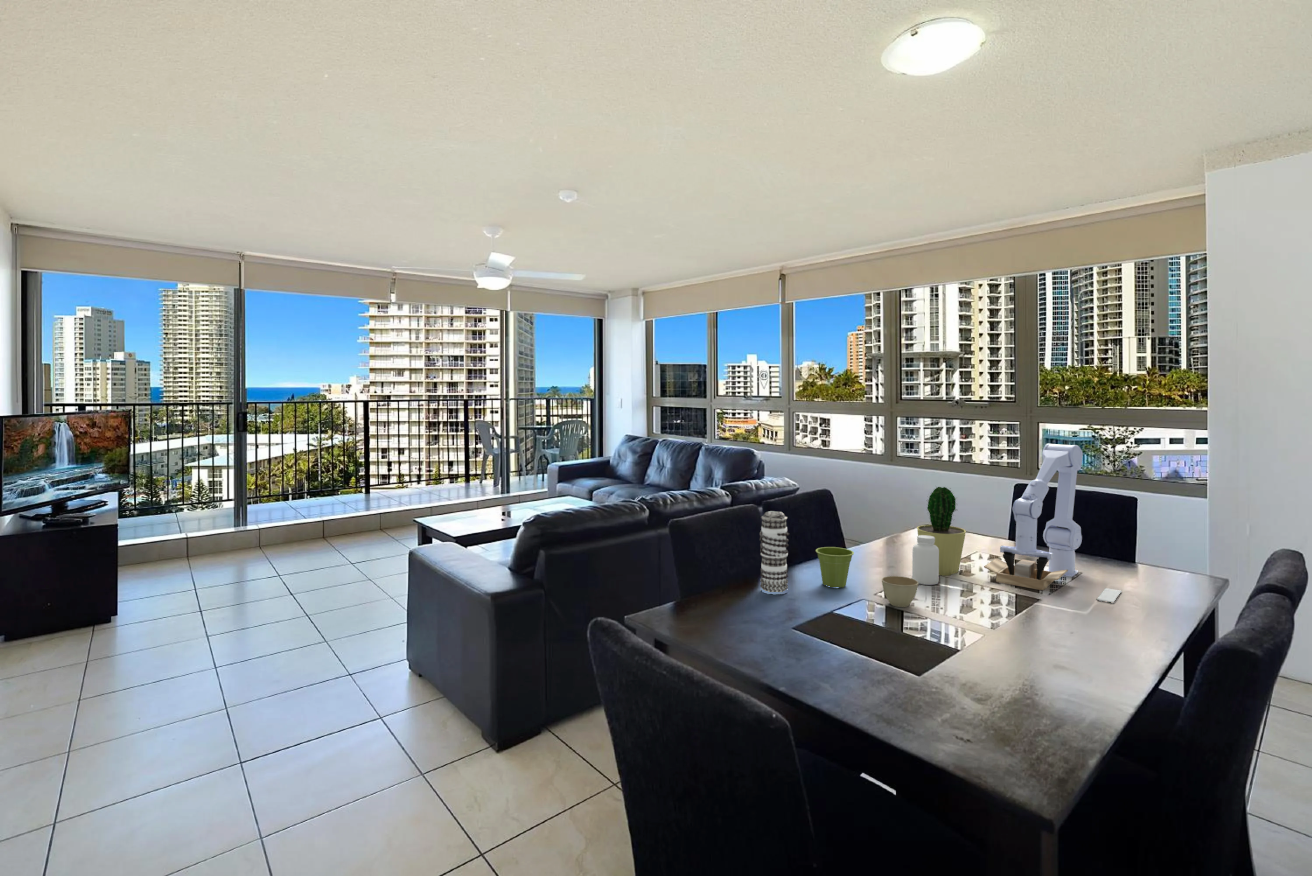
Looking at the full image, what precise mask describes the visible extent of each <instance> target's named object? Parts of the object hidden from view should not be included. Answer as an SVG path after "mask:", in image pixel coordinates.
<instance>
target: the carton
mask: <svg viewBox="0 0 1312 876" xmlns="http://www.w3.org/2000/svg"><path fill="white" fill-rule="evenodd" d="M983 567H984V568H985V569H986V570H987V571H990V572H992V573H995V574H996V577H995V578H996V579H995V581H996V583H999V584H1005V585H1011V586H1012V585H1013V586H1018V587H1022V588H1027V589H1033V590H1039V591H1044V590H1046V589H1047V588H1048V587H1049V586H1050V585H1051V584H1052V583H1054V582H1055V581H1058V580H1060V579H1061V577H1063V576H1065V575H1064V574H1065V573H1066V572H1067V571H1068V569H1067V570H1060V571H1054V572H1051V571H1047V570H1043V572H1042V575H1041V580H1038V579H1037V578H1036V577H1037V568H1036V572H1035V579H1032V578H1026V577H1020V576H1015V565H1014V575H1010V574H1009V569H1008V566H1007V564H1006V561H1003V560H1002V559H999V558H994V559H993V560H992V561H990V562H988V563H986V564H985V565H983Z"/></svg>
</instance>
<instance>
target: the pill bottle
mask: <svg viewBox="0 0 1312 876" xmlns="http://www.w3.org/2000/svg"><path fill="white" fill-rule="evenodd" d="M934 542H935V537H933V536H927V535H919V536H918V535H917V536H916V543H915V544H914V545H913V546H912V549H911V550H912V552H911V553H912V554H911V555H912V559H911V560H912V561H911V564H912V565H911V568H912V569H911V572H912V573H911V577H912V579H914V580H916V581H918V585H925V586H933V585H937V584H939V579H940V577H939V576H940V575H939V549H938V547H937V546H936V545H934Z"/></svg>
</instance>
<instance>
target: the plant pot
mask: <svg viewBox="0 0 1312 876" xmlns="http://www.w3.org/2000/svg"><path fill="white" fill-rule="evenodd" d="M815 552H816V554H817V558H818V561H819V562H818V563H819V568H820V574H821V582H822V585H823V584H824V585H823V586H825V585H827V586H830V587H840V588H845V587H846V586H847V583H848V582H847V581H848V580H847V579H848V575H849V569H850V565H851V561H852V557H853V555H854V554H855V552H854V551H853V550H851V549H848V548H843V547H836V546H824V547H818V548H816V549H815ZM827 586H826V587H827ZM844 586H845V587H844Z"/></svg>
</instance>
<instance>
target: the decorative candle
mask: <svg viewBox="0 0 1312 876" xmlns="http://www.w3.org/2000/svg"><path fill="white" fill-rule="evenodd" d="M760 518H761V520H762V521H761V527H760V529H761V530H760V532H759V541H760V544H759V547H760V549H759V552H760V556H761V564H760V565H761V568H760V569H759V570H760V577H761V578H760V580H759V581H760V589H761V588H762V589H763V590H765V591H768V592H783V591H785V590H786V589H787V590H788V588H789V585H788V583H789V580H788V579H787V578H788V577H789V575H788V573H789V569H788V564H787V557H788V555H789V551H788V549H787V548H788V547H789V546H790V545H789V544H788V542H789V541H790V540H789V539H788V538H787V536H790V533H789V531H788V526H787V519H788V516H786V515H785V513H783V512H782V511H775V510H770V511H766V512H764V514H763V515H762V516H761V517H760Z"/></svg>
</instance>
